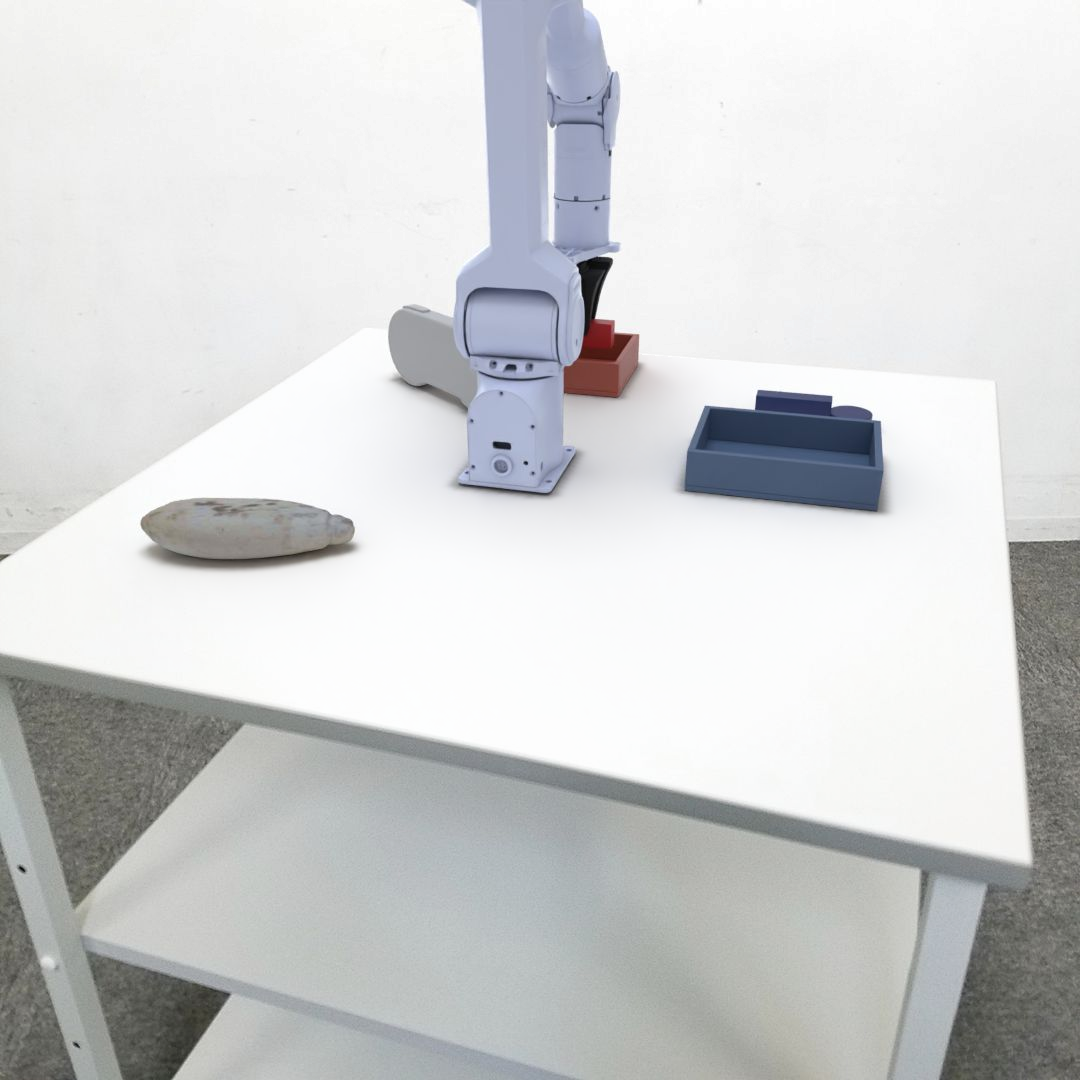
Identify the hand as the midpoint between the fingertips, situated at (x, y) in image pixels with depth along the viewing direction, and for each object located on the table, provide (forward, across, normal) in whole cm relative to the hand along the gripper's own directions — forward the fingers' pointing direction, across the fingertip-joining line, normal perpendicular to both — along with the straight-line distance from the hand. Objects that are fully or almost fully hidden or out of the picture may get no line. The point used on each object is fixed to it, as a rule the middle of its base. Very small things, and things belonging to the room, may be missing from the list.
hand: (579, 331), depth 109 cm
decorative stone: (+5, -45, +14) cm, 47 cm away
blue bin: (+5, -21, -23) cm, 31 cm away
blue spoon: (+5, -8, -25) cm, 26 cm away
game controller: (+5, -10, +11) cm, 16 cm away
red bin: (+5, 0, +2) cm, 5 cm away
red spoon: (+1, 0, +2) cm, 2 cm away
